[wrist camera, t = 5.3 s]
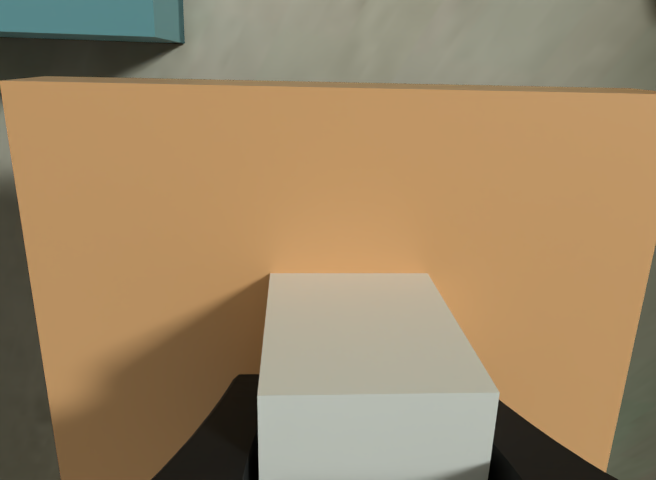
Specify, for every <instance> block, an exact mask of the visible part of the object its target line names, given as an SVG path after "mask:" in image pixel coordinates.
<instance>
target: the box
mask: <svg viewBox="0 0 656 480" xmlns="http://www.w3.org/2000/svg"><path fill="white" fill-rule="evenodd" d="M0 37H14V38H42V39H71V40H100V41H129V42H158V43H185V41H184V17H183V0H0Z"/></svg>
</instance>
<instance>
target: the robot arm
mask: <svg viewBox="0 0 656 480" xmlns="http://www.w3.org/2000/svg"><path fill="white" fill-rule="evenodd" d="M259 375H260V374H239V375H238V376H236V377H235V378H234V379H233V380H232V382H231V384H230V385H229V387H228V388H227V390H226V391H225V393H224V394H223V396H222V397H221V399H220V400H219V401H218V403H217V404H216V405H215V407H214V408H213V410H212V411H211V412H210V414H209V415H208V416H207V417H206V419H205V420H204V421H203V422H202V424H201V425H200V426H199V427H198V429H197V430H196V431H195V432H194V434H193V435H192V436H191V437H190V438H189V439H188V441H187V442H186V443H185V444H184V445H183V446H182V447H181V448H180V449H179V451H178V452H177V453H176V454H175V455H174V456H173V457H172V458H171V459H170V460H169V461H168V462H167V464H166V465H165V466H164V467H163V468H162V469H161V470H160V471H159V472H158V473H157V474H156V475H155V476H154V477H153V478H152V479H151V480H259V461H258V408H257V394H258V384H259ZM488 480H618V479H616V478H614V477H612V476H611V475H609V474H607V473H605V472H604V471H602V470H600V469H599V468H597V467H595V466H594V465H592V464H590V463H589V462H587V461H586V460H584V459H583V458H581V457H580V456H578V455H576V454H575V453H573V452H572V451H570V450H569V449H567V448H566V447H564V446H563V445H561V444H560V443H558V442H557V441H555V440H554V439H552V438H551V437H549V436H548V435H547V434H545V433H544V432H542V431H541V430H539V429H538V428H537V427H535V426H534V425H532V424H531V423H530V422H528V421H527V420H526V419H524V418H523V417H522V416H520V415H519V414H517V413H516V412H515V411H513V410H512V409H511V408H510V407H508V406H507V405H506V404H504V403H503V402H502V401H500V400H499V402H498V409H497V416H496V423H495V431H494V438H493V445H492V453H491V460H490V467H489V474H488Z"/></svg>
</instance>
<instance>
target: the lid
mask: <svg viewBox="0 0 656 480" xmlns="http://www.w3.org/2000/svg"><path fill="white" fill-rule="evenodd" d="M0 88H1V94H2V101H3V107H4V114H5V120H6V127H7V133H8V140H9V146H10V153H11V159H12V166H13V172H14V179H15V185H16V192H17V198H18V205H19V211H20V218H21V224H22V231H23V237H24V244H25V250H26V257H27V263H28V270H29V276H30V283H31V289H32V296H33V302H34V309H35V315H36V322H37V328H38V335H39V341H40V348H41V354H42V360H43V367H44V373H45V380H46V386H47V393H48V399H49V406H50V412H51V419H52V425H53V432H54V438H55V445H56V451H57V458H58V464H59V471H60V477H61V480H151V479H152V478H153V477H154V476H155V475H156V474H157V473H158V472H159V471H160V470H161V469H162V468H163V467H164V466H165V465H166V464H167V462H168V461H169V460H170V459H171V458H172V457H173V456H174V455H175V454H176V453H177V452H178V451H179V449H180V448H181V447H182V446H183V445H184V444H185V443H186V442H187V441H188V439H189V438H190V437H191V436H192V435H193V434H194V432H195V431H196V430H197V429H198V427H199V426H200V425H201V424H202V422H203V421H204V420H205V419H206V417H207V416H208V415H209V414H210V412H211V411H212V410H213V408H214V407H215V405H216V404H217V403H218V401H219V400H220V399H221V397H222V396H223V394H224V393H225V391H226V390H227V388H228V387H229V385H230V384H231V382H232V380H233V379H234V378H235V377H236V376H238V375H239V374H260V375H259V384H258V394H257V408H258V461H259V480H488V474H489V467H490V460H491V453H492V445H493V438H494V431H495V423H496V416H497V409H498V402H499V400H500V401H502V402H503V403H504V404H506V405H507V406H508V407H510V408H511V409H512V410H513V411H515V412H516V413H517V414H519V415H520V416H522V417H523V418H524V419H526V420H527V421H528V422H530V423H531V424H532V425H534V426H535V427H537V428H538V429H539V430H541V431H542V432H544V433H545V434H547V435H548V436H549V437H551V438H552V439H554V440H555V441H557V442H558V443H560V444H561V445H563V446H564V447H566V448H567V449H569V450H570V451H572V452H573V453H575V454H576V455H578V456H580V457H581V458H583V459H584V460H586V461H587V462H589V463H590V464H592V465H594V466H595V467H597V468H599V469H600V470H602V471H604V472H605V473H606V470H607V465H608V461H609V456H610V451H611V447H612V442H613V438H614V433H615V428H616V424H617V419H618V414H619V410H620V405H621V401H622V396H623V391H624V387H625V382H626V378H627V373H628V368H629V364H630V359H631V354H632V350H633V345H634V341H635V336H636V331H637V327H638V322H639V318H640V313H641V308H642V304H643V299H644V294H645V290H646V285H647V281H648V276H649V271H650V267H651V262H652V258H653V253H654V248H655V244H656V91H650V90H641V89H632V88H588V87H540V86H492V85H445V84H397V83H349V82H301V81H253V80H206V79H158V78H110V77H62V76H41V77H31V78H21V79H12V80H2V81H0Z"/></svg>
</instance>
